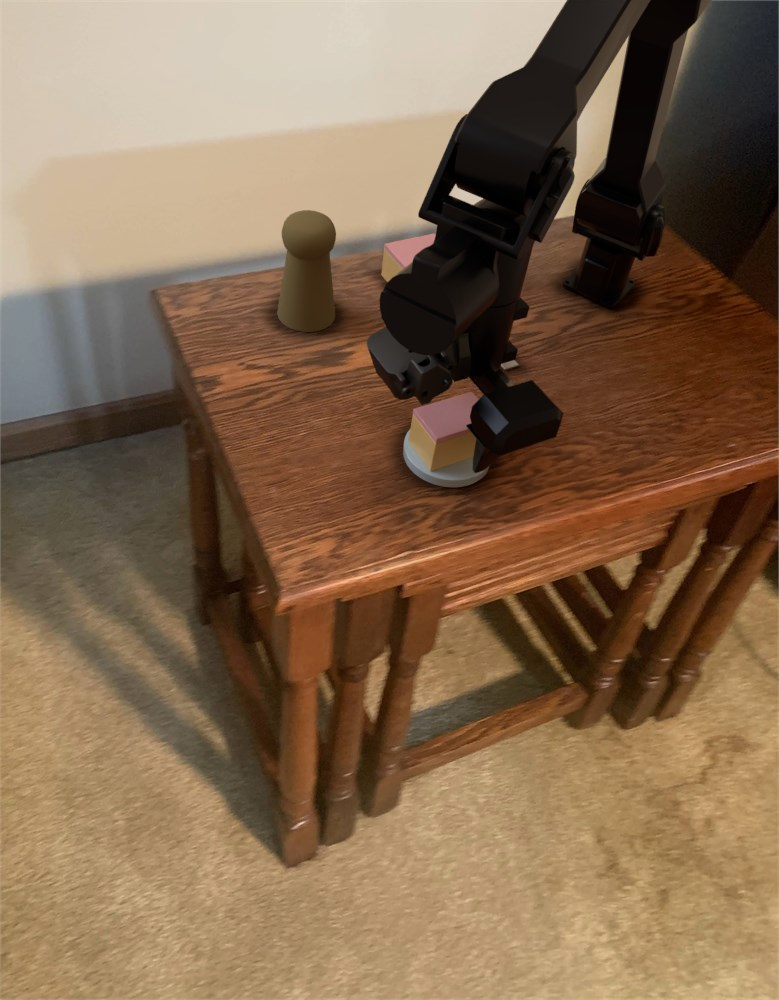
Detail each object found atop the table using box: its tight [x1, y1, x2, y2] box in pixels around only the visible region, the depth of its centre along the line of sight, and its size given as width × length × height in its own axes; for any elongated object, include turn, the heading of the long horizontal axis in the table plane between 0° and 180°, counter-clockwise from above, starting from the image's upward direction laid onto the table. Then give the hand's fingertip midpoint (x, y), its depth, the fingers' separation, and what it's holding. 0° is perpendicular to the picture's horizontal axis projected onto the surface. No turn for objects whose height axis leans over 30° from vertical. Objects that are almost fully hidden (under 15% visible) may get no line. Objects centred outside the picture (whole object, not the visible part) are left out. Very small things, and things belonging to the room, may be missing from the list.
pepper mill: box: [276, 209, 337, 333], centre depth 83 cm, size 6×6×11 cm
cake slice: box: [409, 391, 480, 471], centre depth 73 cm, size 4×6×4 cm, turn 118°
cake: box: [381, 232, 436, 283], centre depth 92 cm, size 6×10×4 cm, turn 118°
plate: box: [402, 429, 491, 488], centre depth 75 cm, size 8×8×1 cm
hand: (450, 435), depth 74 cm, fingers open, 9 cm apart
